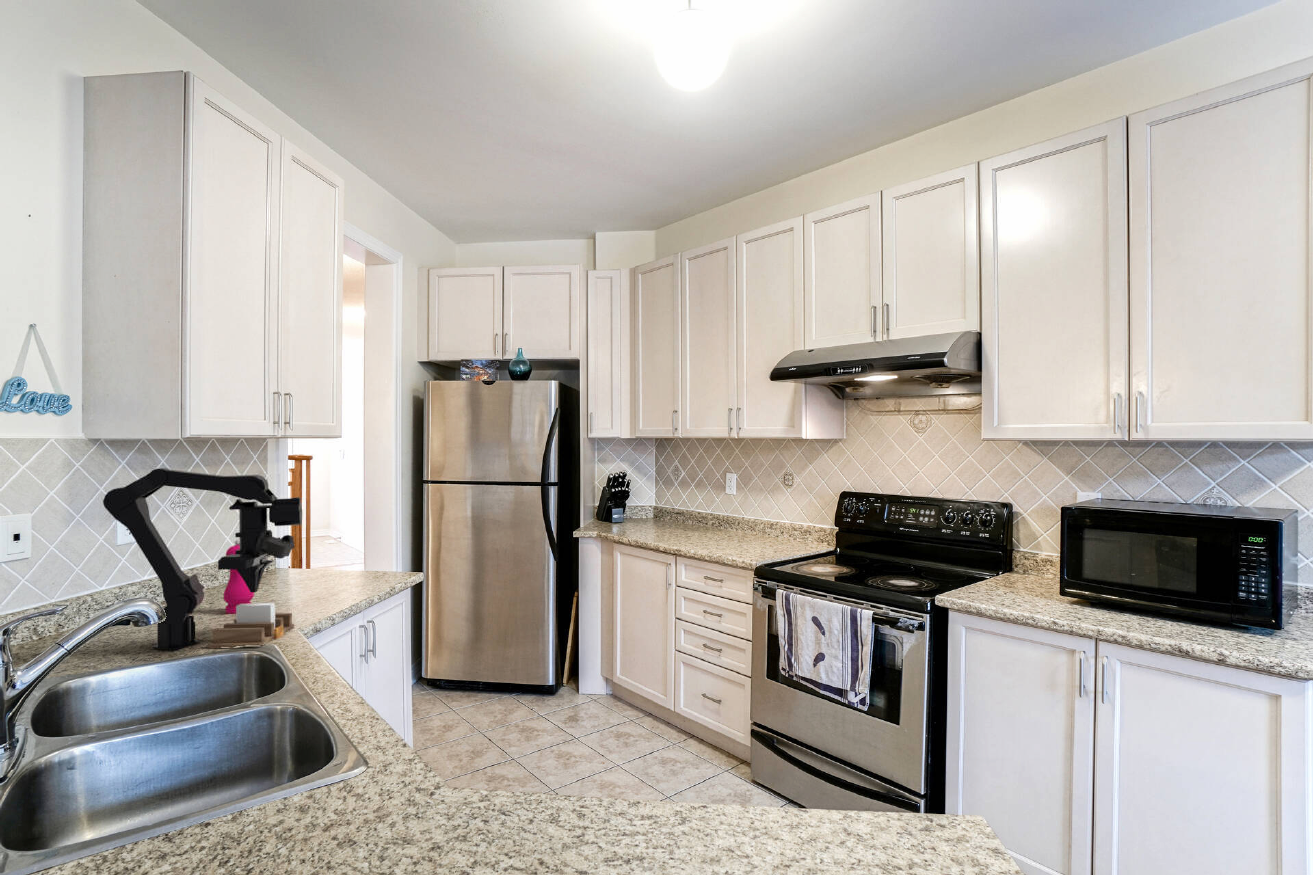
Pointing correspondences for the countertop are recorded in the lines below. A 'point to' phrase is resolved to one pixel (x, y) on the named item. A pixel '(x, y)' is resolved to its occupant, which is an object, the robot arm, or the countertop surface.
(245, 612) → the panel
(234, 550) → the pepper mill
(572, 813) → the countertop surface
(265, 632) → the rack
